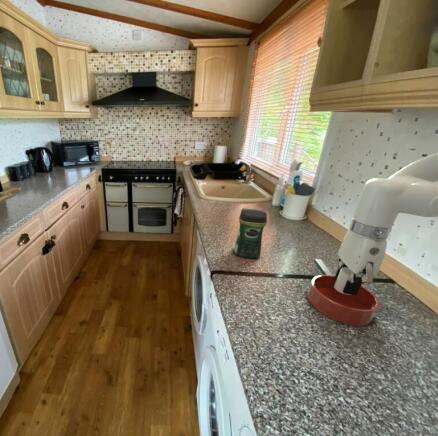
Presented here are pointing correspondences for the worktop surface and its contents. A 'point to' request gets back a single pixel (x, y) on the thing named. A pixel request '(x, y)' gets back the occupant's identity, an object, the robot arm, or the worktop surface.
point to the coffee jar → (250, 233)
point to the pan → (342, 302)
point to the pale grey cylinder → (343, 279)
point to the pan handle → (322, 267)
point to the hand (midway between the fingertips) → (344, 286)
